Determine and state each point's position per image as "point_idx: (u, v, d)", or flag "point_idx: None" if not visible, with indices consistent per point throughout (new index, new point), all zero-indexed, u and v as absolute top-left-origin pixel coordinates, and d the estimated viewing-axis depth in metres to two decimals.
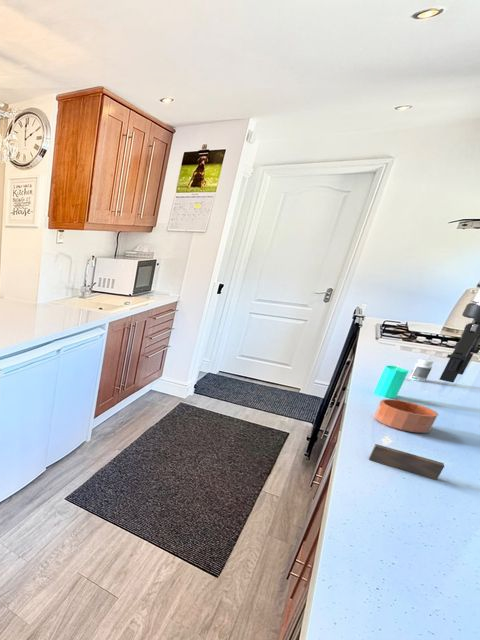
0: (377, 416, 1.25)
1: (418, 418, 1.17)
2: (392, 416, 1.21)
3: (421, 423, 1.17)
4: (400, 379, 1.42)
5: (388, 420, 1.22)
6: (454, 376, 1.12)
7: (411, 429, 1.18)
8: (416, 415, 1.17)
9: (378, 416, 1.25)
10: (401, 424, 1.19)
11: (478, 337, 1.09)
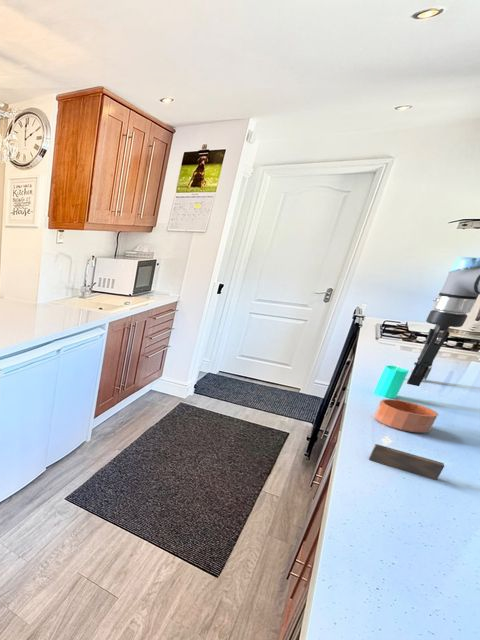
0: (377, 416, 1.25)
1: (418, 418, 1.17)
2: (392, 416, 1.21)
3: (421, 423, 1.17)
4: (400, 379, 1.42)
5: (388, 420, 1.22)
6: (420, 380, 1.26)
7: (411, 429, 1.18)
8: (416, 415, 1.17)
9: (378, 416, 1.25)
10: (401, 424, 1.19)
11: None
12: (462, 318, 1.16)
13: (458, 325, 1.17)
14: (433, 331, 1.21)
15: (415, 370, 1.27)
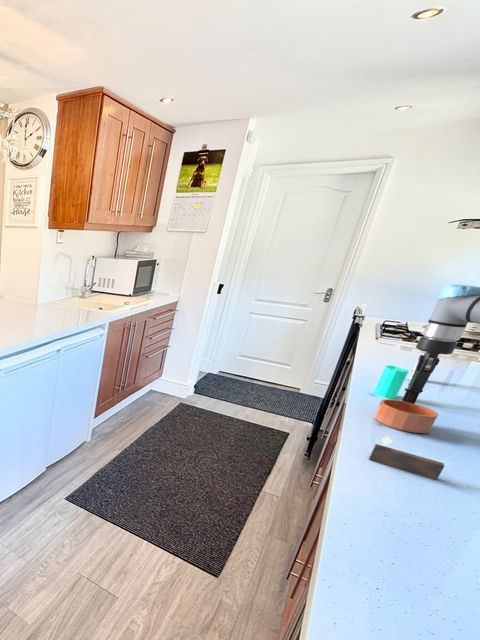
0: (377, 416, 1.25)
1: (418, 419, 1.17)
2: (392, 416, 1.21)
3: (421, 423, 1.17)
4: (400, 379, 1.42)
5: (388, 420, 1.22)
6: None
7: (411, 429, 1.18)
8: (416, 415, 1.17)
9: (378, 416, 1.24)
10: (401, 424, 1.19)
11: None
12: (452, 346, 1.15)
13: (448, 352, 1.16)
14: (423, 358, 1.20)
15: (406, 396, 1.26)
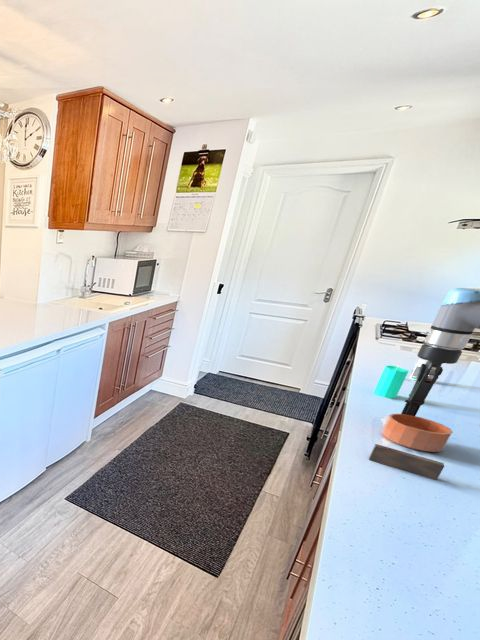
0: (391, 436, 1.13)
1: (440, 438, 1.06)
2: (412, 437, 1.08)
3: (442, 442, 1.06)
4: (400, 379, 1.42)
5: (407, 441, 1.09)
6: None
7: (432, 449, 1.07)
8: (438, 434, 1.06)
9: (393, 436, 1.12)
10: (423, 444, 1.07)
11: None
12: (457, 354, 1.06)
13: (452, 362, 1.07)
14: (425, 367, 1.11)
15: (406, 408, 1.17)
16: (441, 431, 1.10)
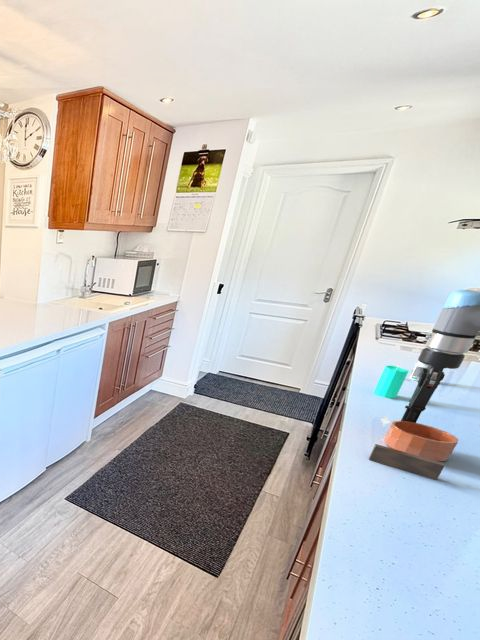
0: (396, 446, 1.08)
1: (448, 447, 1.01)
2: (419, 446, 1.03)
3: (449, 451, 1.02)
4: (400, 379, 1.42)
5: (414, 451, 1.04)
6: None
7: (440, 459, 1.03)
8: (446, 443, 1.01)
9: (398, 446, 1.07)
10: (431, 454, 1.03)
11: None
12: (459, 359, 1.02)
13: (454, 367, 1.03)
14: (426, 372, 1.07)
15: (406, 414, 1.12)
16: (444, 438, 1.06)
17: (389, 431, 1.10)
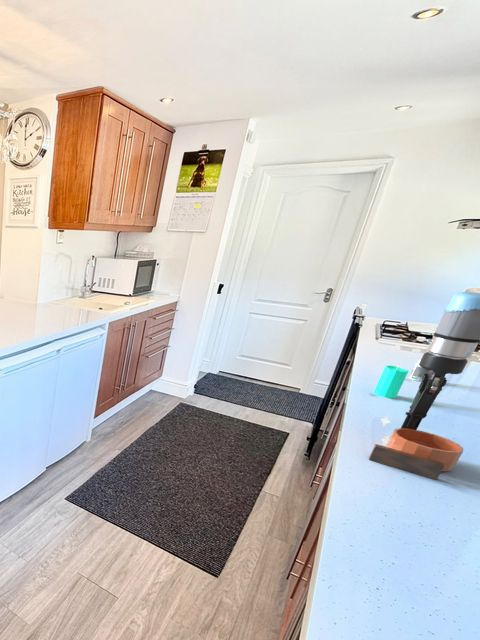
0: None
1: (454, 456, 0.97)
2: (425, 456, 0.99)
3: (455, 460, 0.98)
4: (400, 379, 1.42)
5: None
6: None
7: (446, 469, 0.98)
8: (453, 453, 0.97)
9: None
10: None
11: None
12: (462, 364, 0.98)
13: (457, 372, 0.99)
14: (427, 377, 1.03)
15: (407, 421, 1.08)
16: (447, 446, 1.02)
17: (391, 440, 1.06)
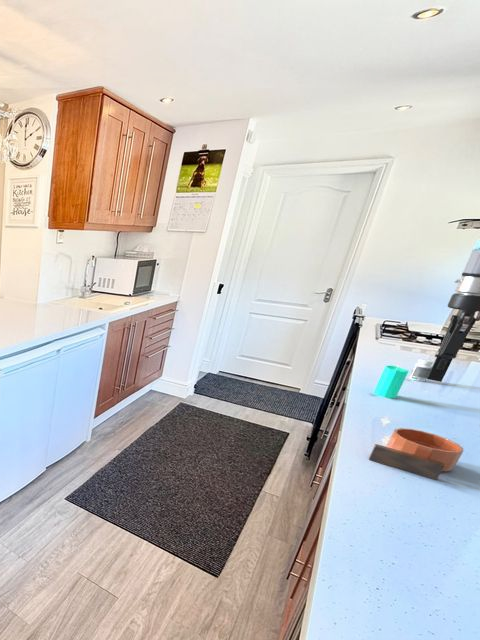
0: None
1: (455, 456, 0.97)
2: (425, 456, 0.99)
3: (455, 460, 0.98)
4: (400, 379, 1.42)
5: None
6: (442, 375, 1.10)
7: (446, 469, 0.98)
8: (453, 453, 0.97)
9: None
10: None
11: None
12: None
13: None
14: (456, 317, 1.05)
15: (436, 363, 1.10)
16: (447, 446, 1.02)
17: (391, 440, 1.06)
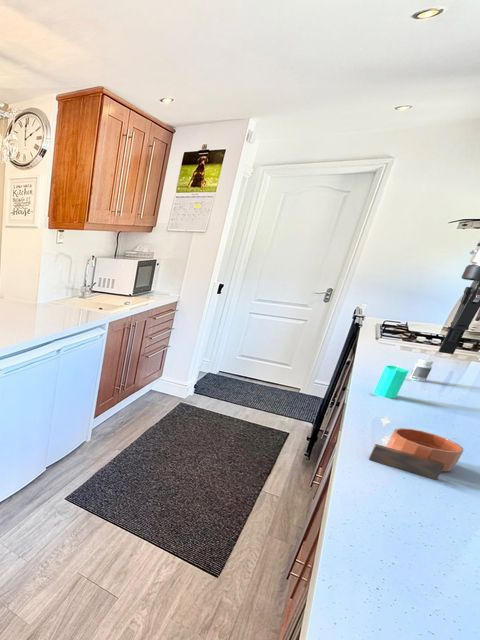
0: None
1: (455, 456, 0.97)
2: (425, 456, 0.99)
3: (455, 460, 0.98)
4: (400, 379, 1.42)
5: None
6: (454, 347, 1.10)
7: (446, 469, 0.98)
8: (453, 453, 0.97)
9: None
10: None
11: None
12: None
13: None
14: (470, 289, 1.05)
15: (448, 336, 1.10)
16: (447, 446, 1.02)
17: (391, 440, 1.06)
